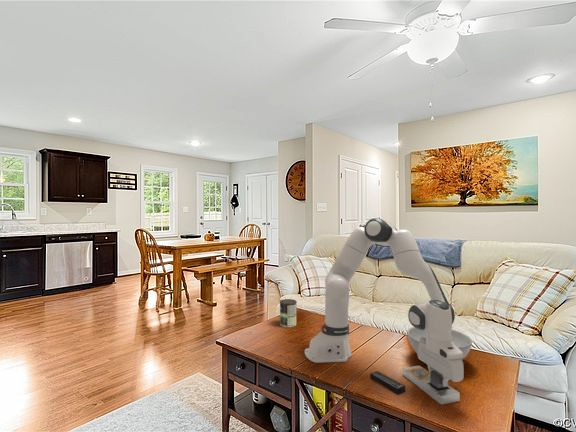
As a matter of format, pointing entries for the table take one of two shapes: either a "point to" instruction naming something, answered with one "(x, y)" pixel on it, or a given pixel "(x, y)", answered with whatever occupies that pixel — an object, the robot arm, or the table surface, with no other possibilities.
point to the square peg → (436, 380)
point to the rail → (423, 382)
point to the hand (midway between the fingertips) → (438, 381)
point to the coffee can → (288, 312)
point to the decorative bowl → (457, 337)
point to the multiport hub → (387, 382)
